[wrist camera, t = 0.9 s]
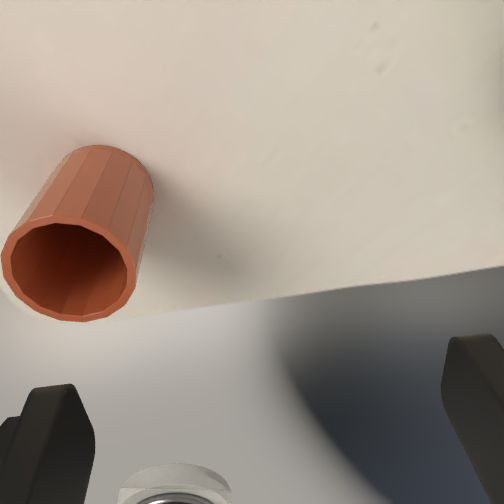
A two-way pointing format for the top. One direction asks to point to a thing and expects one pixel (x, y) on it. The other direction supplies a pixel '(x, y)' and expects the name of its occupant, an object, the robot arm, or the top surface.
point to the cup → (82, 236)
